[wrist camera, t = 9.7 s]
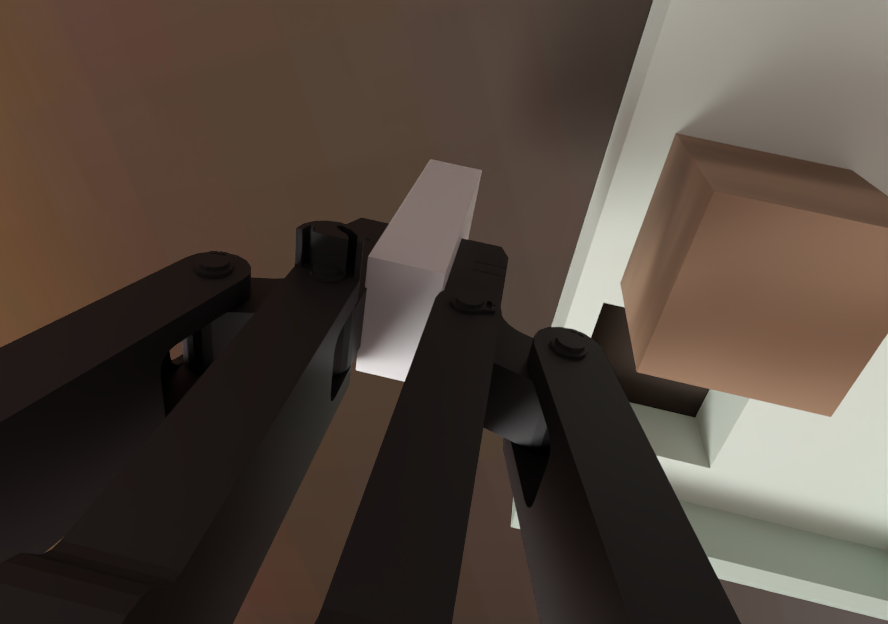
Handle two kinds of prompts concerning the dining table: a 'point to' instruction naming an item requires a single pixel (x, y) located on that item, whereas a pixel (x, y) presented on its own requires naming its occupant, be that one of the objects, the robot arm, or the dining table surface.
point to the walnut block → (758, 275)
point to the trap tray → (731, 416)
